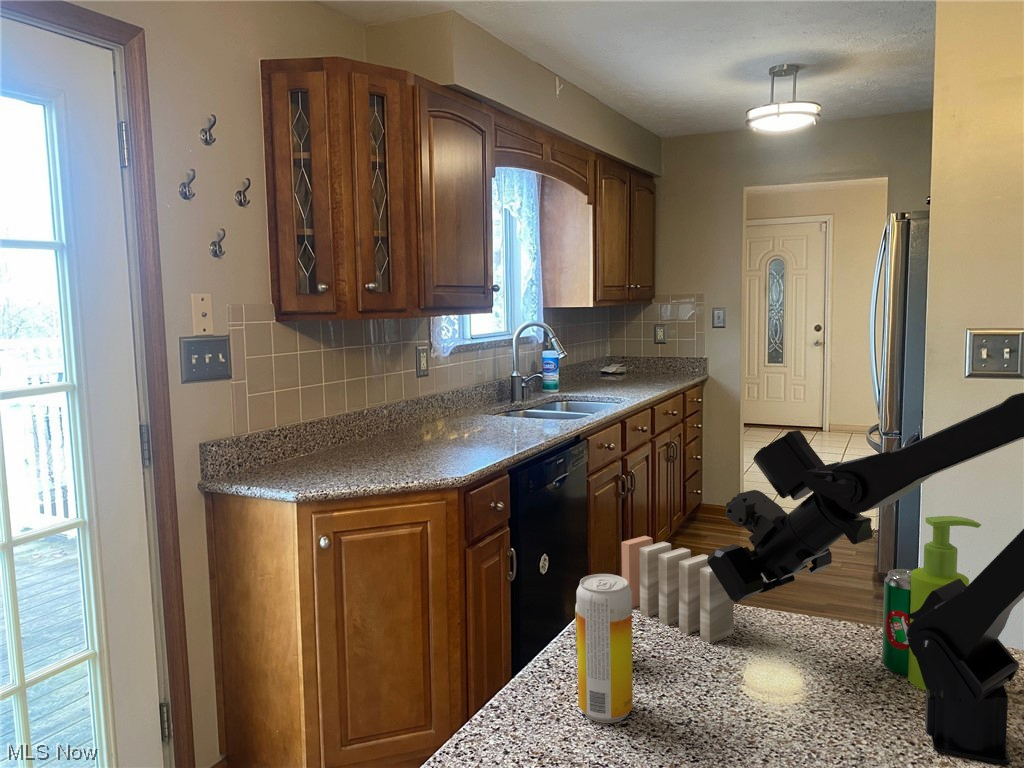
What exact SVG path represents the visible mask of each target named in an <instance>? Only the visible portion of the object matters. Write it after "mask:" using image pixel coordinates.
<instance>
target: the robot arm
mask: <svg viewBox="0 0 1024 768" xmlns="http://www.w3.org/2000/svg"><path fill="white" fill-rule="evenodd" d="M1021 440H1024V392H1019V393H1016V394H1012V395H1010V396H1009V397H1007V398H1006V399H1005V400H1004V401H1002V402H1001V403H999V404H997V405H995V406H992V407H990V408H988V409H985V410H983V411H981V412H978V413H976V414H974V415H972V416H970V417H967V418H965V419H963V420H961V421H958V422H956V423H954V424H952V425H950V426H948V427H946V428H943V429H940V430H938V431H937V432H934V433H932V434H930V435H927V436H926V437H923V438H921V439H918V440H916V441H914V442H912V443H910V444H907V445H905V446H902V447H901V448H897V449H892V450H887V451H884V452H880V453H876V454H871V455H868V456H863V457H859V458H858V457H857V458H856V459H855V458H854V459H851V460H847V461H842V462H840V461H837V462H833V463H828V464H825V463H824V461H822V459H821V458H820V457H819V455H818V453H816V451H815V450H814V449H813V447H812V446H811V445H810V443H809V442H808V440H807V438H806V436H805V435H804V434H803V432H802V431H801V430H799V429H795V430H791V431H788V432H786V434H785V435H784V436H781V437H779V438H778V439H775V440H773V441H772V442H771V443H769V444H768V445H765V446H763V447H761V448H760V449H759V450H758V451H757V452H756V453H755V455H754V457H753V461H754V463H755V465H756V466H757V467H758V468H759V470H760V472H761V473H762V474H763V476H764V477H765V478H766V479H767V481H768V482H769V484H770V485H771V486H772V488H773V489H774V491H775V492H776V494H777V495H778V496H779V498H782V499H783V500H784V499H786V498H788V497H790V498H791V499H792V501H798V500H800V499H803V498H804V497H806V496H807V497H806V498H805V499H804V500H803V501H802V502H801V503H799V504H798V505H797V506H796V507H795V508H794V509H792V510H791V511H790V512H789V513H788V512H786V511H785V510H784V509H783V507H782V506H780V504H778V503H777V502H775V501H774V500H773V499H772V498H770V497H768V495H766V494H765V493H764V492H762V491H761V490H757V489H752V490H747V491H744V492H739V493H737V494H736V496H733V497H732V499H731V500H730V501H728V502H727V503H726V505H725V507H726V511H725V515H726V518H727V519H729V520H730V521H731V522H732V523H733V524H734V525H736V526H737V527H738V528H741V527H743V528H744V529H746V531H748V532H750V533H751V535H750V536H749V537H748V540H749V541H750V543H751V544H752V546H753V550H751V549H750V547H748V546H744V547H743V546H741V545H737V544H730V545H726V546H723V547H720V548H717V549H715V550H713V551H712V553H711V554H710V555H708V558H707V563H708V565H709V566H710V568H711V569H712V571H713V572H714V574H715V575H716V577H717V579H718V580H719V582H720V583H721V585H722V586H723V588H724V590H725V591H726V593H727V594H728V596H729V597H730V599H731V600H733V601H734V602H735V603H739V602H741V601H745V600H748V599H750V598H751V597H754V596H755V595H757V594H764V593H766V592H768V591H771V590H775V589H776V587H782V586H784V585H787V584H789V583H793V582H794V581H795V580H796V579H795V575H797V574H800V573H802V572H804V571H805V570H806V569H808V573H810V575H813V574H816V573H818V572H820V571H821V572H822V571H823V570H825V569H826V568H828V566H830V565H831V564H832V557H833V555H832V554H833V553H832V552H831V549H830V547H831V546H832V545H834V544H835V543H836V542H838V541H839V540H840V539H841V538H843V537H844V536H846V538H847V539H848V541H849V542H850V543H851V544H852V545H857V544H861V543H863V542H866V541H869V540H871V539H873V537H874V535H873V528H872V521H873V520H872V518H871V517H868V516H864V515H862V513H866V512H869V511H873V510H876V509H878V508H881V507H884V506H887V505H891V504H893V503H895V502H896V501H899V500H900V499H902V498H903V497H904V496H906V495H908V494H910V492H912V491H914V490H916V488H917V487H919V486H920V485H921V484H922V483H924V482H925V481H927V480H928V479H930V478H932V477H933V476H935V475H937V474H939V473H942V472H943V471H947V470H949V469H951V468H955V467H956V466H959V465H962V464H964V463H966V462H968V461H971V460H974V459H976V458H980V457H981V456H983V455H984V456H985V455H986V454H989V453H991V452H994V451H996V450H999V449H1002V448H1003V447H1006V446H1008V445H1010V444H1013V443H1015V442H1018V441H1021ZM809 494H810V495H809ZM808 495H809V496H808ZM809 563H811V564H812V565H811V567H809V566H808V564H809ZM1023 599H1024V528H1023V529H1022V530H1021V531H1020V532H1019V533H1018V534H1017V535H1016V536H1014V538H1013V539H1012V540H1011V541H1010V542H1009V543H1008V544H1007V545H1006V546H1005V547H1004V548H1002V550H1001V551H1000V552H999V553H998V554H997V555H996V557H995V558H994V559H993V560H991V561H990V563H988V565H986V567H985V568H984V569H982V571H981V572H980V573H979V574H978V575H977V576H976V577H975V578H974V579H973V580H972V581H971V582H969V585H968V586H966V585H965V584H964V583H963V581H962V580H961V579H960V578H959V579H956V580H954V581H952V582H950V583H948V584H946V585H944V586H942V587H940V588H937V589H935V590H933V591H932V592H931V593H930V594H929V595H928V597H927V598H926V600H925V602H924V603H923V605H922V606H921V608H920V609H919V610H917V611H915V612H913V613H910V614H908V617H909V618H911V619H914V621H912V622H911V623H910V625H909V626H908V628H907V632H906V636H907V638H908V643H909V646H910V649H911V651H912V653H913V654H914V656H915V657H916V659H917V662H918V665H919V668H920V671H921V674H922V677H923V681H924V684H925V687H926V691H925V711H924V713H925V714H924V715H925V716H924V720H925V721H924V724H925V730H926V734H927V736H929V737H931V742H932V749H933V750H934V751H935V752H938V753H943V754H948V755H953V756H958V757H963V758H968V759H972V760H973V759H974V760H979V761H984V762H989V763H993V764H999V765H1003V766H1009V765H1010V764H1011V758H1010V755H1009V752H1008V749H1007V739H1008V738H1007V736H1008V735H1007V734H1008V733H1007V732H1008V709H1009V695H1008V693H1007V690H1006V688H1005V684H1007V683H1010V682H1011V681H1013V680H1014V678H1015V675H1016V674H1017V672H1018V670H1019V668H1020V663H1019V662H1018V661H1017V659H1016V658H1015V657H1014V656H1013V655H1012V654H1011V653H1010V651H1009V650H1008V649H1007V648H1006V645H1004V644H1003V643H1002V641H1001V640H1000V639H999V636H1000V635H1001V633H1003V630H1004V629H1005V627H1006V624H1007V623H1008V619H1009V617H1010V614H1011V612H1012V610H1013V609H1014V608H1015V606H1016V605H1017V604H1019V603H1020V602H1021V601H1022V600H1023Z"/></svg>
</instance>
